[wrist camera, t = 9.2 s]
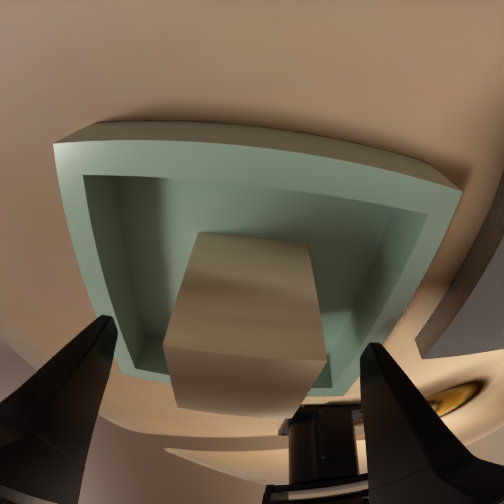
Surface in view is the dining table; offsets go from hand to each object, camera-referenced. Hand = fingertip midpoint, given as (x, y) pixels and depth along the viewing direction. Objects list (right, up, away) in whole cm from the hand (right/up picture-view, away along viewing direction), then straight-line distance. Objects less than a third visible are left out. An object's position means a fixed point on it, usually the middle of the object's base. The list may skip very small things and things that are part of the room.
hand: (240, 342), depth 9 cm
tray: (0, +2, +3) cm, 4 cm away
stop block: (0, +2, +2) cm, 3 cm away
